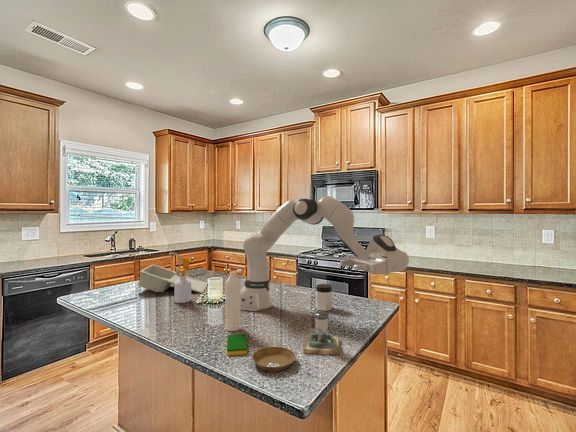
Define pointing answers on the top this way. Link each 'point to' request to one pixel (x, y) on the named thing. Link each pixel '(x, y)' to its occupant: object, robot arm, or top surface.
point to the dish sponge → (236, 344)
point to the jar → (323, 297)
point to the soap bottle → (183, 285)
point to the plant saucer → (273, 358)
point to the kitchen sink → (166, 278)
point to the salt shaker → (321, 326)
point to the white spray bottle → (233, 302)
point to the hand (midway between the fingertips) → (348, 265)
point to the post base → (321, 345)
